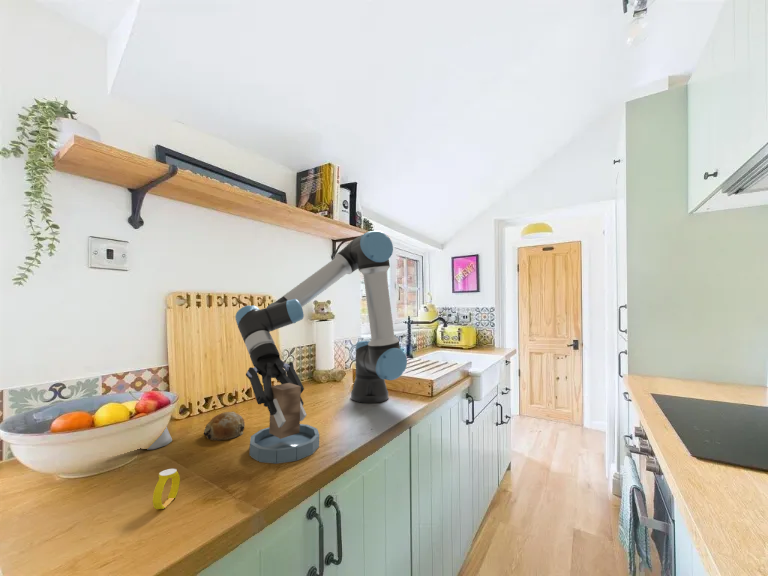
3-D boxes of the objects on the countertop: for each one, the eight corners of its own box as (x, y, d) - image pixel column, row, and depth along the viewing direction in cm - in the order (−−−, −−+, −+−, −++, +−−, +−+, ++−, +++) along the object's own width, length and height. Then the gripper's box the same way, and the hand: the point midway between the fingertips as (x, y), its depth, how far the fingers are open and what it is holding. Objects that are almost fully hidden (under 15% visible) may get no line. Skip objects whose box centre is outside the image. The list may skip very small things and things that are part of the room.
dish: (294, 429, 96) (294, 419, 96) (331, 446, 85) (331, 434, 85) (237, 448, 83) (238, 436, 83) (272, 470, 72) (273, 456, 72)
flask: (153, 452, 81) (155, 411, 81) (130, 449, 82) (132, 409, 83) (177, 440, 88) (179, 403, 88) (155, 438, 89) (157, 401, 90)
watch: (167, 497, 62) (170, 464, 63) (182, 497, 62) (185, 464, 63) (146, 515, 56) (150, 478, 57) (163, 514, 56) (166, 478, 57)
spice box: (287, 427, 88) (289, 382, 89) (299, 432, 84) (300, 386, 85) (269, 433, 84) (270, 386, 84) (280, 438, 80) (282, 390, 81)
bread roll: (232, 454, 88) (246, 426, 89) (195, 440, 86) (210, 412, 87) (240, 439, 97) (252, 414, 99) (207, 427, 96) (220, 401, 97)
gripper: (285, 355, 102) (315, 420, 90) (225, 362, 88) (252, 440, 76) (295, 339, 99) (328, 404, 87) (235, 344, 85) (264, 422, 73)
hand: (293, 421), depth 82 cm, fingers closed on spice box, 5 cm apart
